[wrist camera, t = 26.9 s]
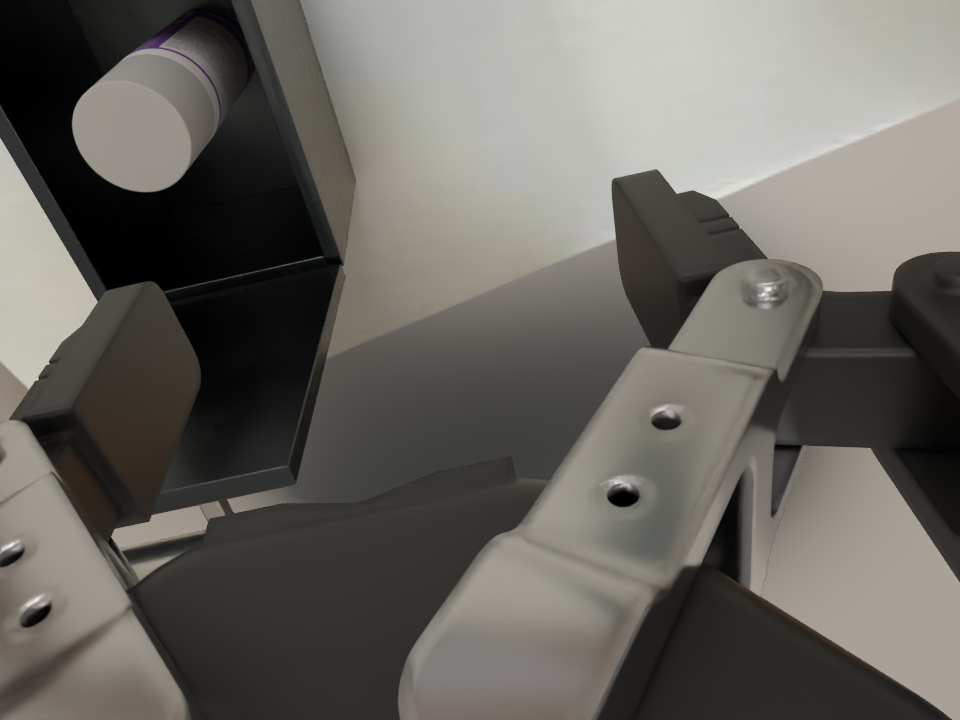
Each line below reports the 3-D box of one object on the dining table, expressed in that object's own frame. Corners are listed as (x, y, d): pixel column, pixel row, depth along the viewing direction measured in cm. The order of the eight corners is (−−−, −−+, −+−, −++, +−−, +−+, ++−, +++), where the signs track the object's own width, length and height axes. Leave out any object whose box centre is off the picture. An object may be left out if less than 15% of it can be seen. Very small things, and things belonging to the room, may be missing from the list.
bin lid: (-101, 547, 23) (-9, 658, 26) (288, 465, 22) (340, 587, 25) (101, 316, 37) (146, 403, 40) (341, 263, 37) (371, 354, 39)
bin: (35, -45, 38) (-88, -9, 29) (267, -102, 38) (221, -85, 28) (167, 223, 47) (107, 318, 38) (356, 180, 47) (343, 266, 37)
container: (182, 97, 42) (91, 199, 30) (158, 8, 40) (49, 80, 27) (263, 92, 42) (207, 191, 30) (246, 4, 40) (176, 73, 28)
